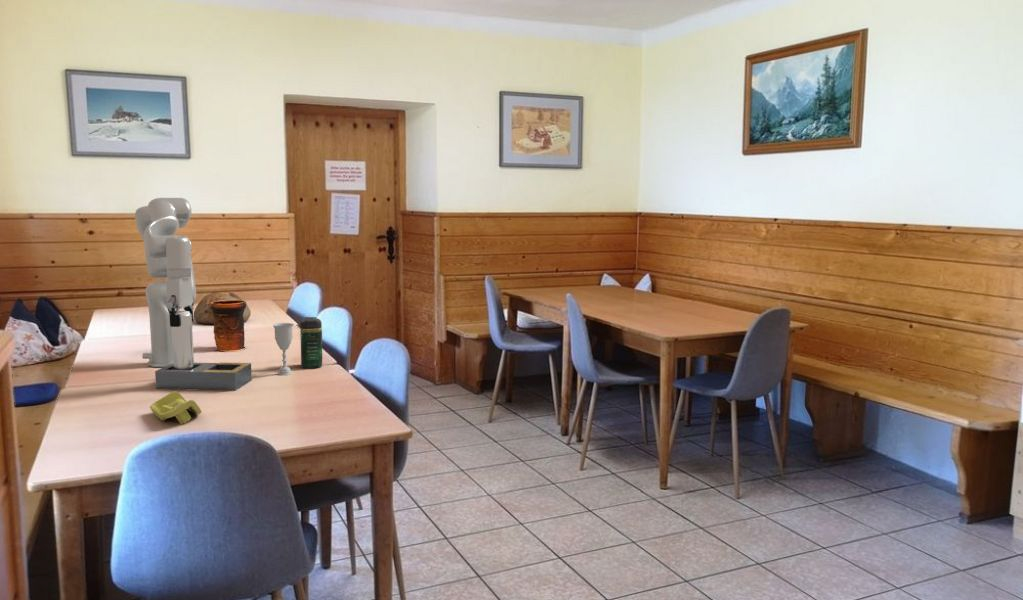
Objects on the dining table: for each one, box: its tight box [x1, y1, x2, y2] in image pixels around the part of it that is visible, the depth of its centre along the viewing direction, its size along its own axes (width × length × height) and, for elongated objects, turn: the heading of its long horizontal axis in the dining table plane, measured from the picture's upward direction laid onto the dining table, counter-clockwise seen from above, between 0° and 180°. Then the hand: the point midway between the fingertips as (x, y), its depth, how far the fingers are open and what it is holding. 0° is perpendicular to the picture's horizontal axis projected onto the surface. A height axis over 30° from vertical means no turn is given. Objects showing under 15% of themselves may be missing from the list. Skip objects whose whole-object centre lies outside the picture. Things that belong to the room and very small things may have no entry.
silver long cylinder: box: [172, 310, 195, 370], centre depth 266 cm, size 6×6×25 cm
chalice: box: [272, 322, 294, 376], centre depth 283 cm, size 7×7×18 cm
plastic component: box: [149, 390, 202, 425], centre depth 227 cm, size 20×7×10 cm
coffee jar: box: [299, 316, 323, 369], centre depth 295 cm, size 10×8×19 cm
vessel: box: [210, 300, 247, 353], centre depth 327 cm, size 14×14×20 cm
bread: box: [193, 291, 251, 325], centre depth 394 cm, size 26×23×15 cm
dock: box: [154, 361, 253, 391], centre depth 267 cm, size 27×14×6 cm, turn 87°
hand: (182, 324), depth 265 cm, fingers open, 9 cm apart
